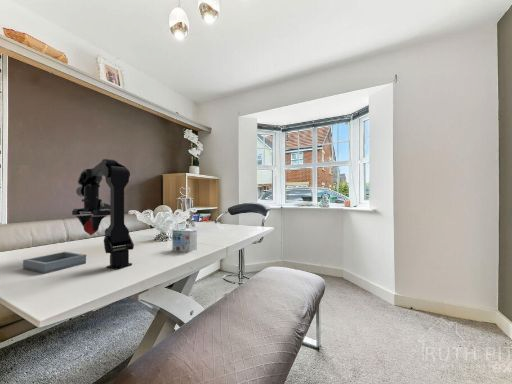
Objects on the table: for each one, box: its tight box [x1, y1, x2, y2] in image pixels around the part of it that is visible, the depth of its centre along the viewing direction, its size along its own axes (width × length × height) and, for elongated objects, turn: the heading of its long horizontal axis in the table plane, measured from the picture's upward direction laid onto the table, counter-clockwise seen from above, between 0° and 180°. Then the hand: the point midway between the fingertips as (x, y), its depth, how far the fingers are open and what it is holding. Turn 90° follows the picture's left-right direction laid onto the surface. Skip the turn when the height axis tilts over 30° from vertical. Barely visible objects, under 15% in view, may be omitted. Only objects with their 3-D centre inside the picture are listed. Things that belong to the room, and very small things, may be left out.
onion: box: [83, 219, 100, 236], centre depth 107 cm, size 6×6×8 cm
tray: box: [22, 251, 87, 275], centre depth 91 cm, size 14×14×4 cm
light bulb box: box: [171, 227, 198, 253], centre depth 119 cm, size 11×7×11 cm, turn 73°
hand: (91, 230), depth 107 cm, fingers closed on onion, 6 cm apart
